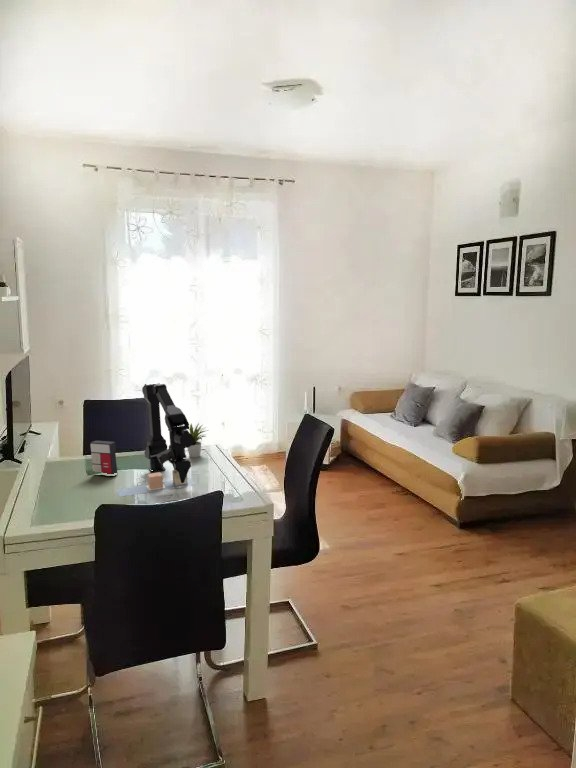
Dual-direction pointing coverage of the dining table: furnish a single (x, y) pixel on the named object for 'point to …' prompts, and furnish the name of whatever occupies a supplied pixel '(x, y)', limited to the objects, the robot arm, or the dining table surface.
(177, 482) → the beech block
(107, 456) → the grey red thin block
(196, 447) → the house plant
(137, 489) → the baseplate
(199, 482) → the dining table surface
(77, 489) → the dining table surface
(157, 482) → the terracotta block
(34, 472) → the dining table surface
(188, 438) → the robot arm
